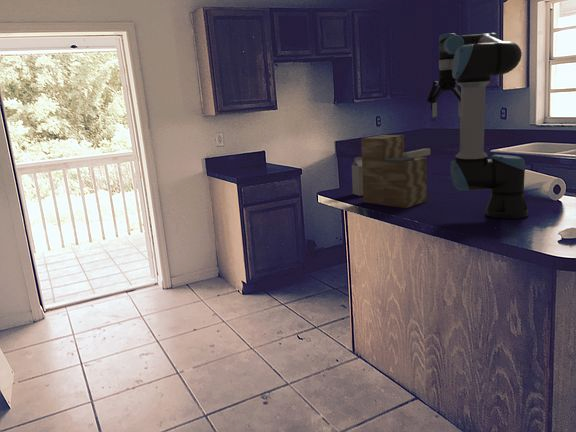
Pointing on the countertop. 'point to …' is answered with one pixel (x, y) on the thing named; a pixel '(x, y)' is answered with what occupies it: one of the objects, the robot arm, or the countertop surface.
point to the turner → (409, 156)
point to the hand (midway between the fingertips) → (447, 116)
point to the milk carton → (357, 177)
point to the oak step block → (392, 173)
